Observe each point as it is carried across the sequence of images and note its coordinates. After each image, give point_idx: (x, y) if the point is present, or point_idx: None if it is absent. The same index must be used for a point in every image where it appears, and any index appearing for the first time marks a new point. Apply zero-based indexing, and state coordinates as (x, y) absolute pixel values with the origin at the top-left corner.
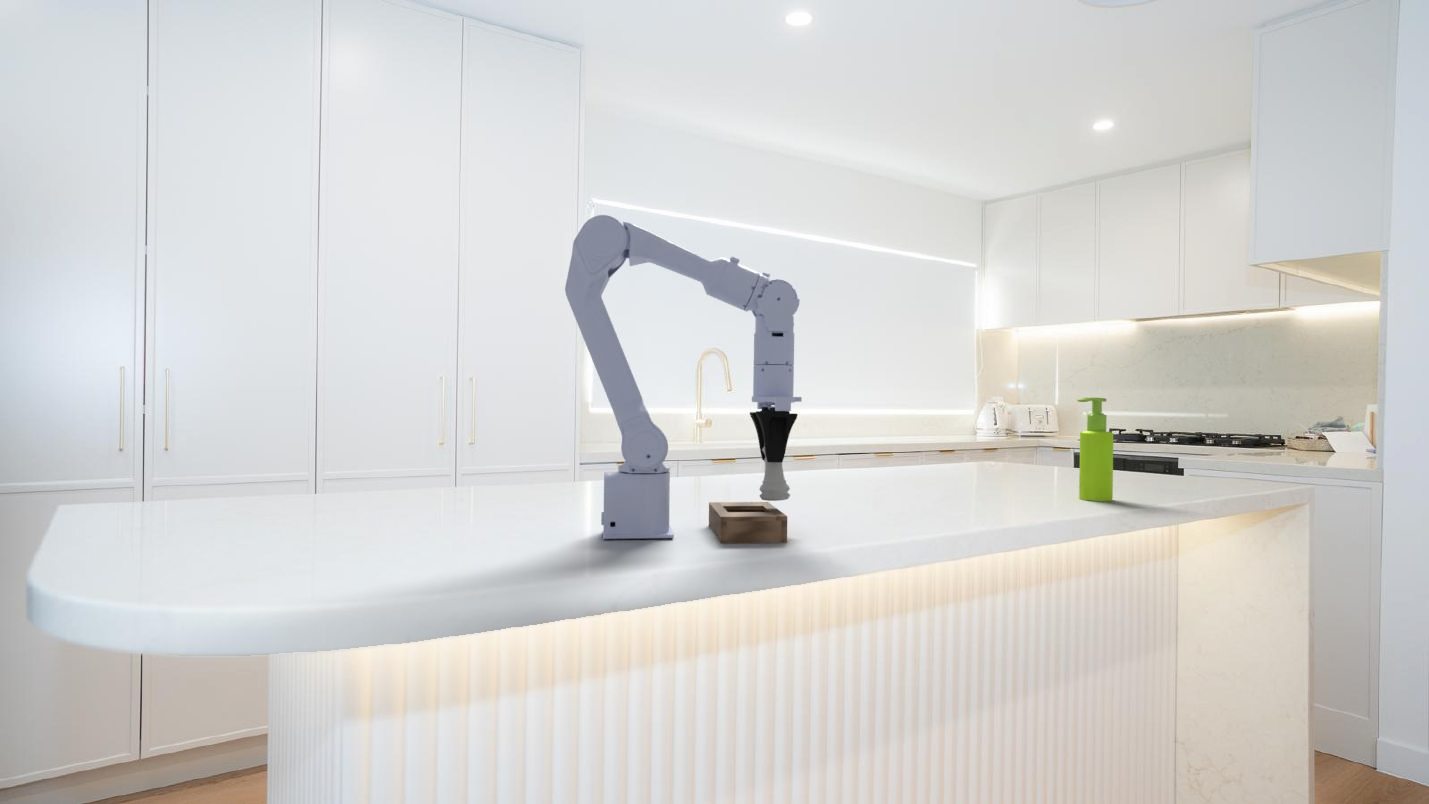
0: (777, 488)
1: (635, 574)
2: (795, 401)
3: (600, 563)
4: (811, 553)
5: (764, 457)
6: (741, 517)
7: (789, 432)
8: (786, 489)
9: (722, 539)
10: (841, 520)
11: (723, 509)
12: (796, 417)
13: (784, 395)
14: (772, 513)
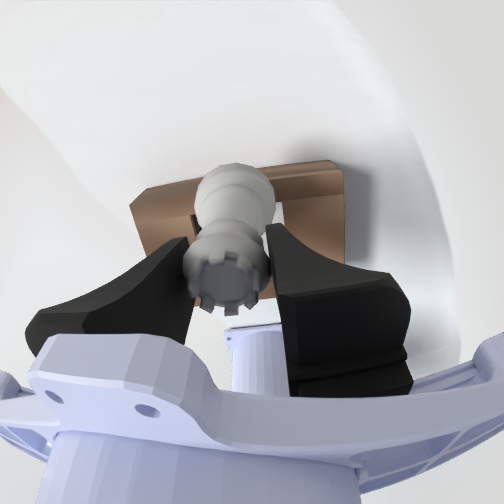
0: (273, 204)
1: (455, 321)
2: (222, 390)
3: (411, 352)
4: (412, 136)
5: None
6: (343, 256)
7: (330, 259)
8: (259, 179)
9: None
10: (74, 57)
11: None
12: (390, 277)
13: (355, 480)
14: (306, 199)
